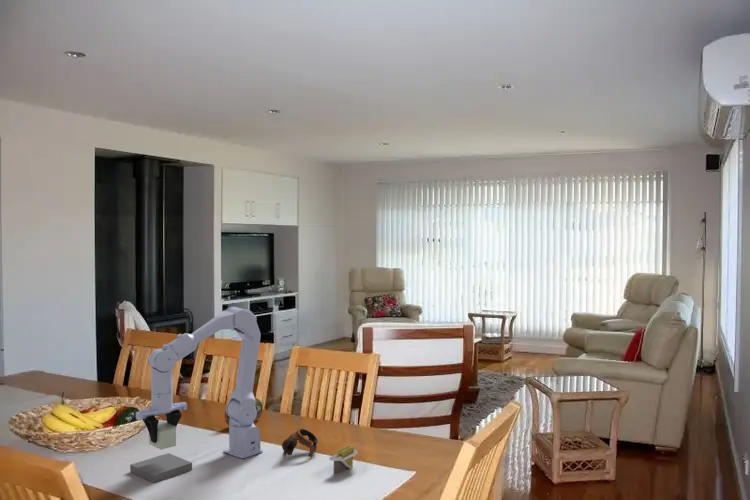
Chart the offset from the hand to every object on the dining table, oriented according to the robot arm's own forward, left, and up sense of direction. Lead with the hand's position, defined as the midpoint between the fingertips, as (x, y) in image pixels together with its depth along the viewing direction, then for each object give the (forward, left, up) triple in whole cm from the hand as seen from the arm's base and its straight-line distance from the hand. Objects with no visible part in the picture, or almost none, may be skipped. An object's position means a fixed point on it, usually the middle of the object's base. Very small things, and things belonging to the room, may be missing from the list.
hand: (162, 439), depth 176 cm
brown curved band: (-20, -33, -9) cm, 40 cm away
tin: (+16, -41, -9) cm, 45 cm away
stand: (-1, +1, -8) cm, 8 cm away
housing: (0, 0, -1) cm, 1 cm away
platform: (-40, -33, -9) cm, 52 cm away
